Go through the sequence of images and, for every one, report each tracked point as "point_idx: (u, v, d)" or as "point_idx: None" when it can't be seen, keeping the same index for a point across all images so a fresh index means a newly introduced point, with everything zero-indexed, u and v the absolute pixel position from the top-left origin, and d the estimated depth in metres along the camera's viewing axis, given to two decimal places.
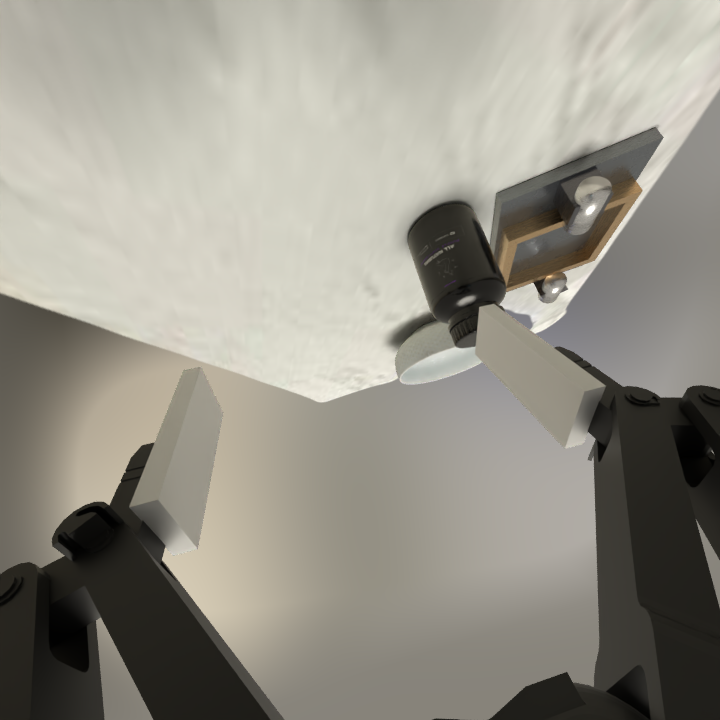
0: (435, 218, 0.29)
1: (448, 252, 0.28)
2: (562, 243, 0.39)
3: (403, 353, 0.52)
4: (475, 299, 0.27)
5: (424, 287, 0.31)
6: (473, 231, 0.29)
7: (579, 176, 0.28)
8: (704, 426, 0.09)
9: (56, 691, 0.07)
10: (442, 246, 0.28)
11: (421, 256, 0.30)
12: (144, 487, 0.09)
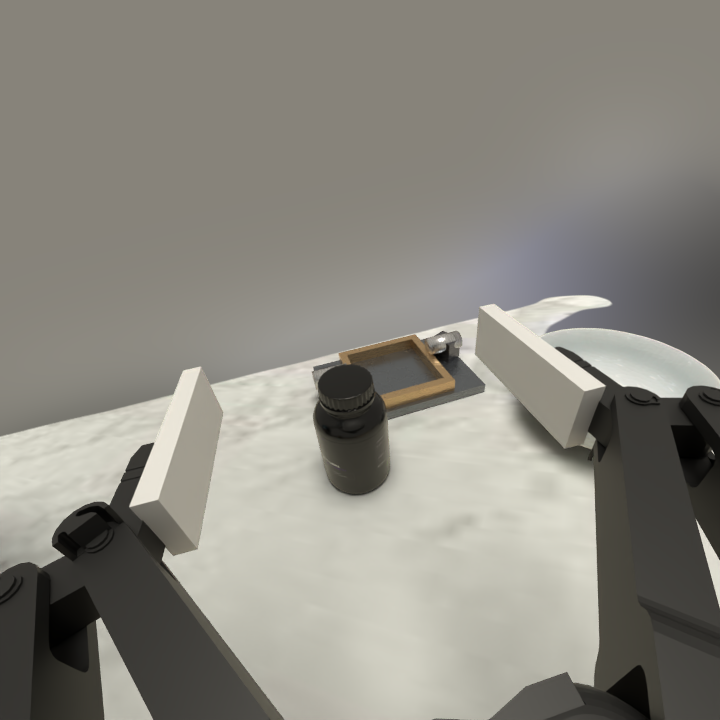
0: (327, 473, 0.33)
1: (321, 450, 0.31)
2: (399, 365, 0.47)
3: None
4: (321, 407, 0.29)
5: (352, 457, 0.29)
6: None
7: None
8: (704, 426, 0.09)
9: (56, 691, 0.07)
10: (323, 457, 0.32)
11: (340, 473, 0.31)
12: (144, 487, 0.09)
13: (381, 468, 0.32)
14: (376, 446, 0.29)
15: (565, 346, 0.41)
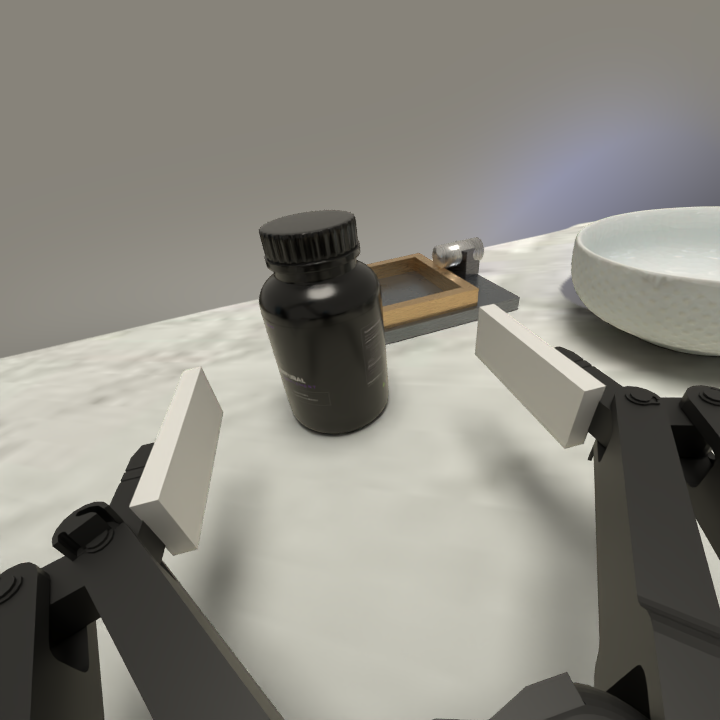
0: None
1: (276, 360, 0.19)
2: (399, 286, 0.35)
3: None
4: (271, 278, 0.18)
5: (323, 359, 0.17)
6: None
7: None
8: (704, 426, 0.09)
9: (56, 691, 0.07)
10: (280, 373, 0.20)
11: (307, 393, 0.19)
12: (144, 487, 0.09)
13: (375, 389, 0.20)
14: (365, 342, 0.17)
15: (632, 238, 0.29)
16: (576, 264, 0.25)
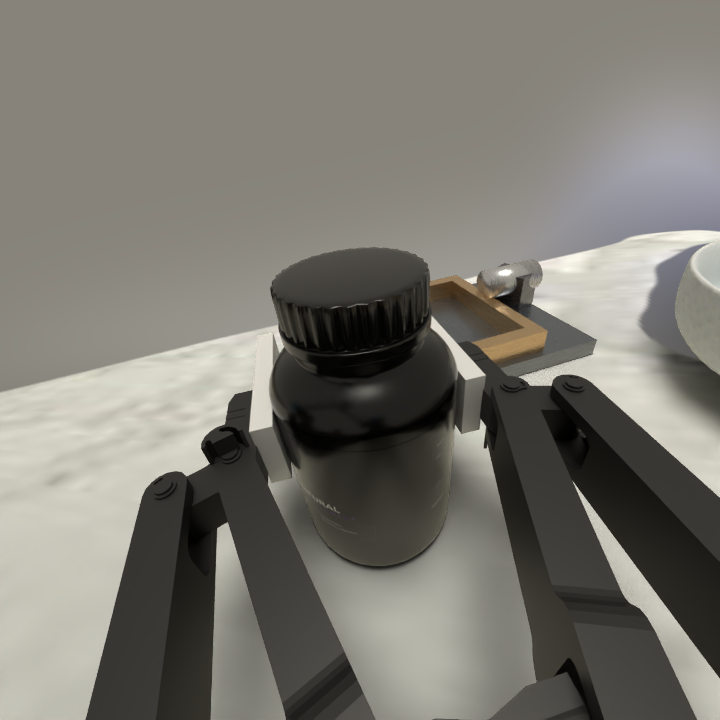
0: None
1: (293, 467, 0.13)
2: (435, 318, 0.29)
3: None
4: (287, 357, 0.11)
5: (371, 489, 0.11)
6: None
7: None
8: (574, 414, 0.10)
9: (188, 585, 0.08)
10: (300, 484, 0.13)
11: (341, 524, 0.12)
12: (256, 418, 0.11)
13: (439, 508, 0.13)
14: (436, 458, 0.11)
15: None
16: (697, 308, 0.18)
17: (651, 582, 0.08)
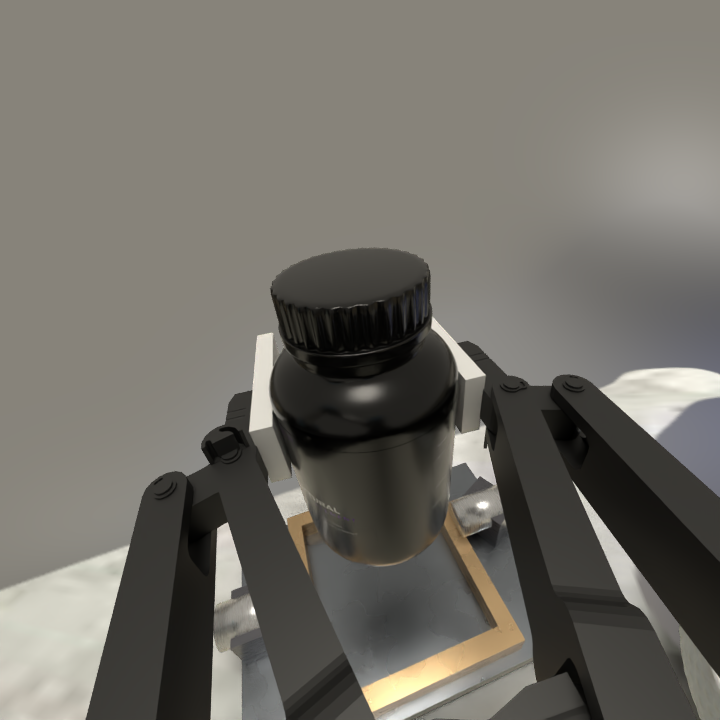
0: None
1: None
2: None
3: None
4: (288, 357, 0.11)
5: (372, 490, 0.11)
6: None
7: None
8: (574, 414, 0.10)
9: (188, 585, 0.08)
10: (300, 485, 0.13)
11: (341, 525, 0.12)
12: (256, 418, 0.11)
13: (439, 509, 0.13)
14: (437, 459, 0.11)
15: None
16: (709, 705, 0.14)
17: (651, 583, 0.08)
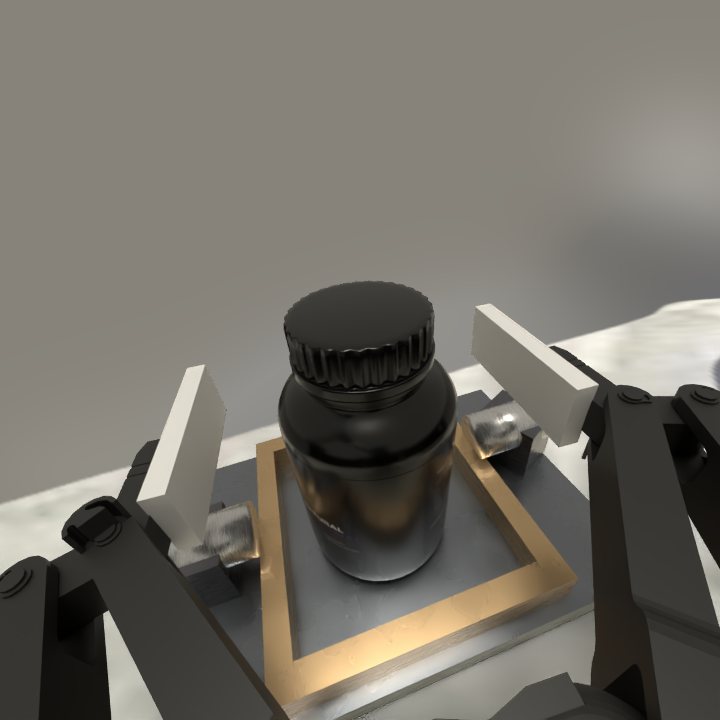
0: (314, 532, 0.16)
1: (299, 487, 0.14)
2: None
3: None
4: (296, 385, 0.12)
5: (375, 513, 0.11)
6: None
7: None
8: (696, 424, 0.09)
9: (64, 683, 0.07)
10: (305, 503, 0.14)
11: (344, 542, 0.13)
12: (151, 482, 0.09)
13: (437, 527, 0.14)
14: (436, 483, 0.12)
15: None
16: None
17: None
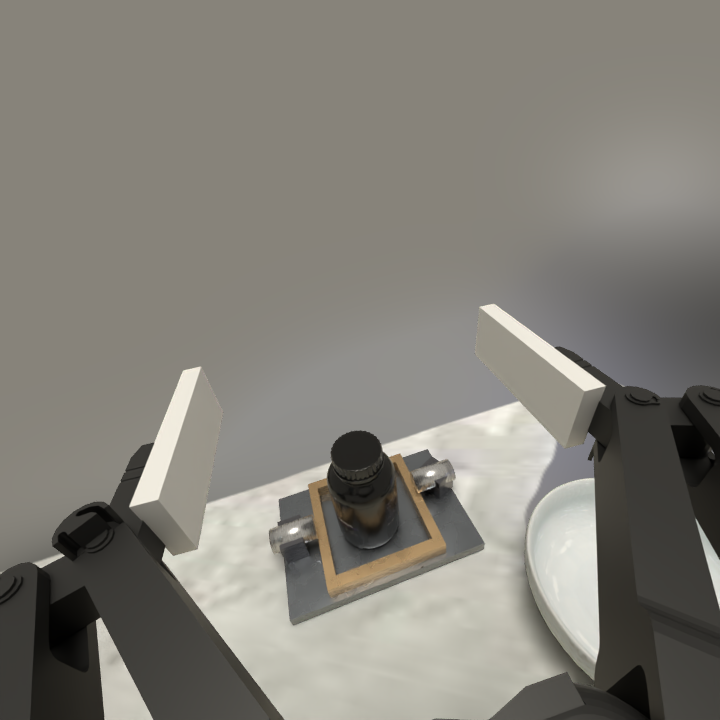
0: (340, 528, 0.36)
1: (334, 509, 0.33)
2: None
3: None
4: (334, 472, 0.32)
5: (364, 520, 0.31)
6: None
7: None
8: (704, 426, 0.09)
9: (56, 691, 0.07)
10: (337, 515, 0.34)
11: (353, 531, 0.33)
12: (144, 487, 0.09)
13: (391, 525, 0.34)
14: (387, 508, 0.31)
15: (584, 497, 0.32)
16: (526, 562, 0.28)
17: None
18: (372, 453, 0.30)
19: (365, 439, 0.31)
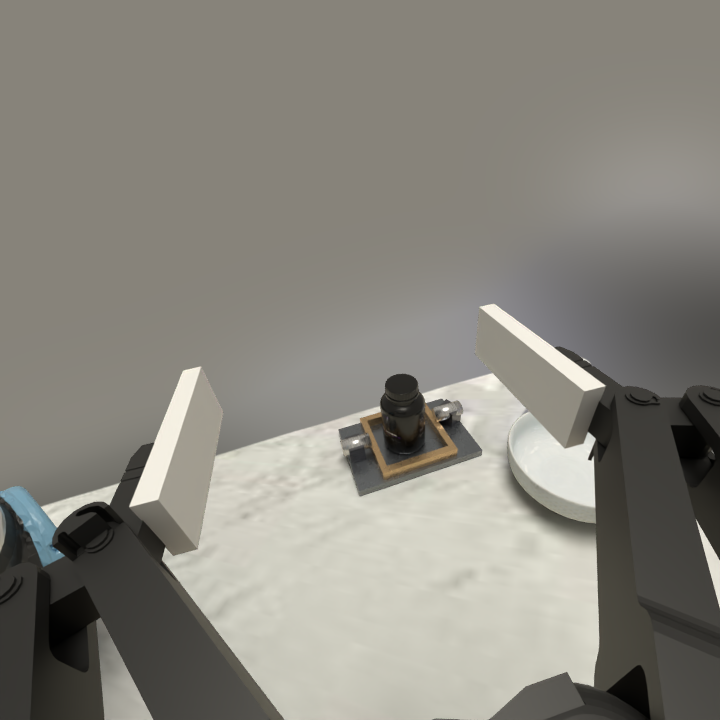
0: (385, 442, 0.53)
1: (384, 426, 0.51)
2: None
3: (572, 515, 0.39)
4: (386, 400, 0.49)
5: (405, 429, 0.49)
6: None
7: (349, 455, 0.53)
8: (704, 426, 0.09)
9: (56, 691, 0.07)
10: (385, 431, 0.51)
11: (397, 440, 0.50)
12: (144, 487, 0.09)
13: (421, 437, 0.51)
14: (419, 423, 0.49)
15: None
16: (507, 451, 0.46)
17: None
18: (412, 385, 0.47)
19: (406, 378, 0.49)
